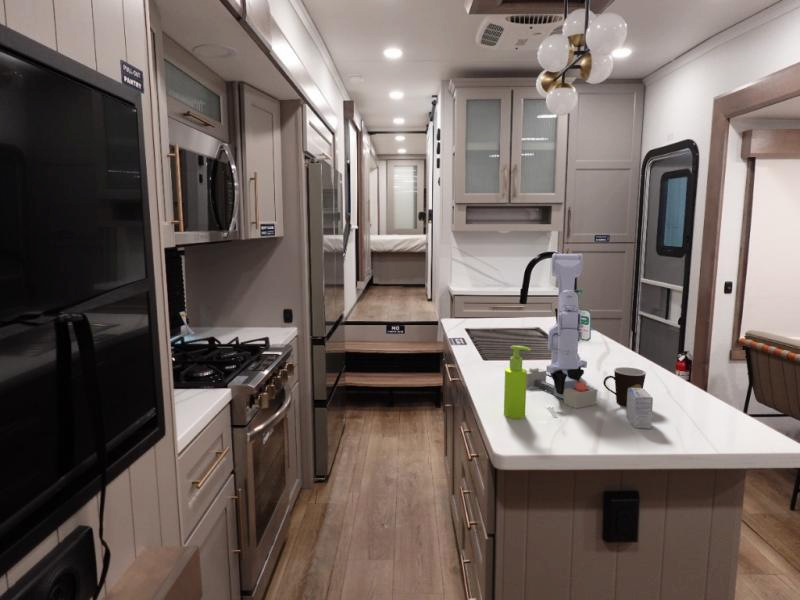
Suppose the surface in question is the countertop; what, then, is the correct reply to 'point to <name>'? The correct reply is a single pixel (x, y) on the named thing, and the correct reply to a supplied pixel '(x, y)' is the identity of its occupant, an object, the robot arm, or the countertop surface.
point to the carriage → (566, 386)
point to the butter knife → (552, 412)
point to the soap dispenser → (515, 386)
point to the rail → (544, 385)
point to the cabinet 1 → (535, 376)
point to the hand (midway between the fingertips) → (565, 392)
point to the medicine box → (639, 408)
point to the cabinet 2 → (580, 397)
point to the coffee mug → (626, 382)
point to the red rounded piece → (580, 386)
